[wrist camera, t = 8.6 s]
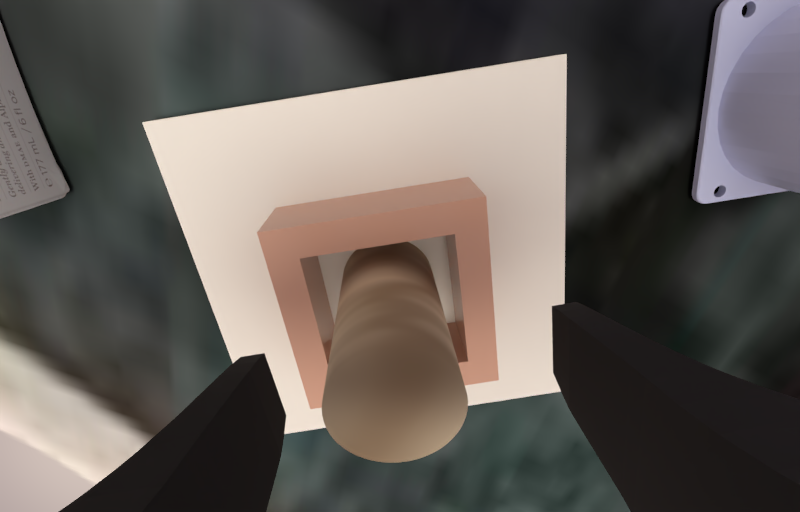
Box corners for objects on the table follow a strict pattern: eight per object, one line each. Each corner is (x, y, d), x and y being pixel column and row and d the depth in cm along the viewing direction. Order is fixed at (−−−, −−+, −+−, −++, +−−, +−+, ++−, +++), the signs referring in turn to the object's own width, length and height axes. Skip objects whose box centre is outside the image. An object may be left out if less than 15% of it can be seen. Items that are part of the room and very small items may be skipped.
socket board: (556, 55, 17) (607, 49, 13) (556, 378, 23) (590, 436, 19) (154, 119, 17) (93, 132, 13) (265, 423, 23) (244, 489, 19)
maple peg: (445, 252, 19) (490, 368, 11) (415, 326, 20) (438, 473, 13) (357, 226, 18) (343, 332, 10) (332, 305, 19) (306, 447, 12)
